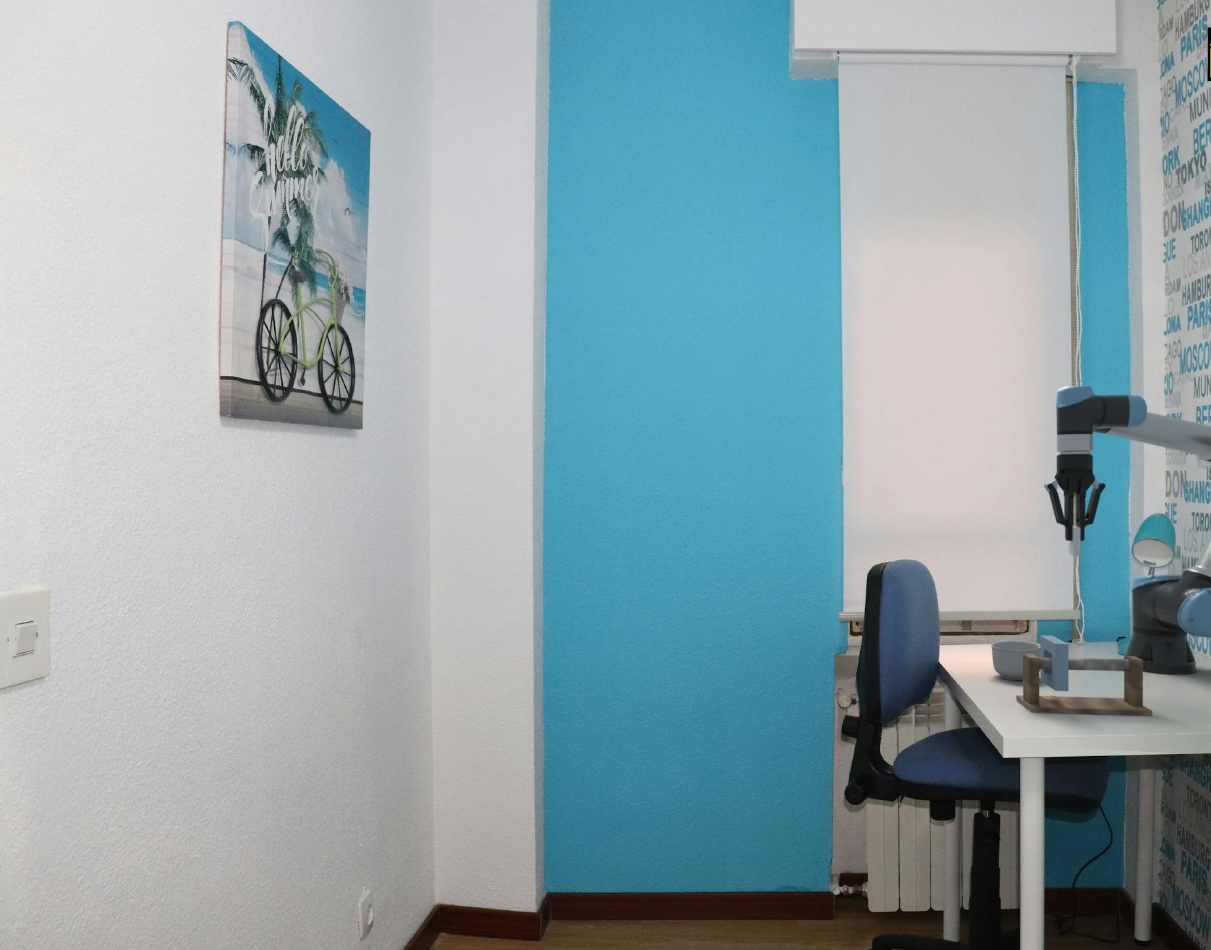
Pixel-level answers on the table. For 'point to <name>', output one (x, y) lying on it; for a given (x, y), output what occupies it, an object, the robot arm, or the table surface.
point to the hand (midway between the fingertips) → (1074, 555)
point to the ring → (1055, 663)
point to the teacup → (1012, 657)
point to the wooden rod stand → (1085, 705)
